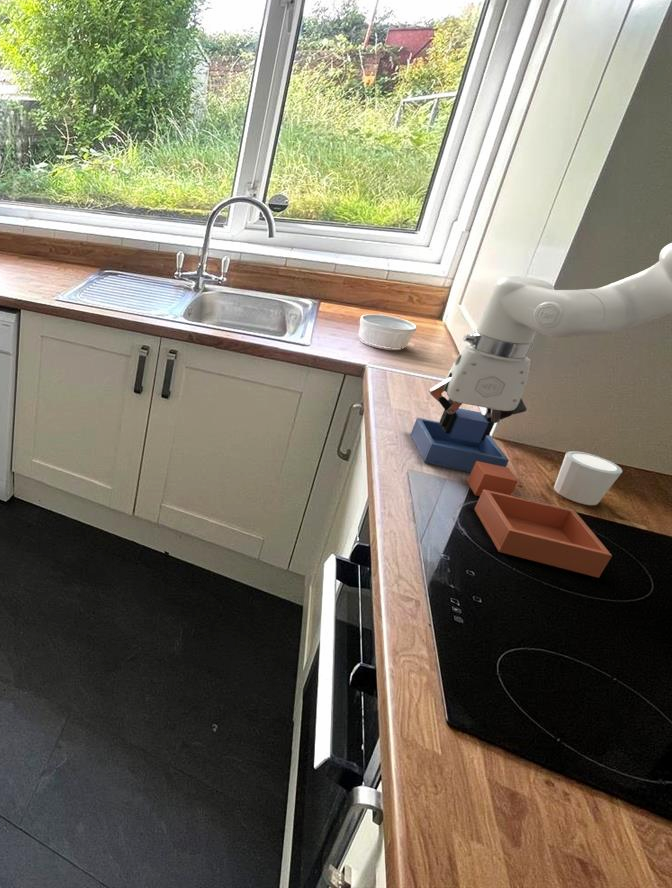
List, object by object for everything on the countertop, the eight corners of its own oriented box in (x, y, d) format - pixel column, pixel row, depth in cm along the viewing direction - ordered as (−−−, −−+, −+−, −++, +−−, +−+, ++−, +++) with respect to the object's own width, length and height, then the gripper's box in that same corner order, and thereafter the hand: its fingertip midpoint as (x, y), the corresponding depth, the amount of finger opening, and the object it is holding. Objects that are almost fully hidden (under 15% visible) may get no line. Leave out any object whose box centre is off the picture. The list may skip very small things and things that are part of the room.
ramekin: (348, 342, 169) (355, 319, 166) (361, 332, 177) (368, 310, 174) (402, 356, 160) (410, 332, 157) (413, 345, 168) (422, 322, 166)
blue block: (479, 443, 108) (488, 422, 107) (449, 437, 110) (458, 416, 108) (471, 432, 112) (480, 412, 110) (443, 427, 114) (451, 406, 112)
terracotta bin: (599, 578, 83) (612, 555, 82) (498, 552, 88) (509, 530, 86) (562, 530, 93) (574, 509, 91) (473, 509, 97) (483, 489, 96)
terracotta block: (507, 503, 99) (518, 481, 97) (474, 495, 101) (484, 473, 99) (498, 488, 103) (508, 467, 101) (466, 481, 105) (476, 460, 103)
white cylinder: (539, 486, 104) (556, 453, 101) (564, 480, 106) (581, 448, 103) (587, 510, 98) (607, 475, 95) (613, 503, 100) (632, 469, 97)
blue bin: (500, 479, 106) (509, 460, 104) (424, 462, 110) (431, 443, 109) (479, 449, 115) (487, 431, 114) (410, 434, 120) (416, 417, 118)
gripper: (447, 343, 104) (412, 431, 111) (571, 362, 97) (526, 455, 104) (436, 330, 110) (404, 414, 117) (551, 347, 104) (510, 435, 111)
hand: (461, 432), depth 111 cm, fingers closed on blue block, 4 cm apart
